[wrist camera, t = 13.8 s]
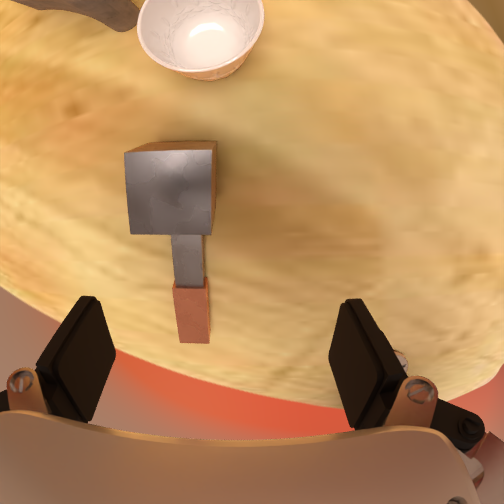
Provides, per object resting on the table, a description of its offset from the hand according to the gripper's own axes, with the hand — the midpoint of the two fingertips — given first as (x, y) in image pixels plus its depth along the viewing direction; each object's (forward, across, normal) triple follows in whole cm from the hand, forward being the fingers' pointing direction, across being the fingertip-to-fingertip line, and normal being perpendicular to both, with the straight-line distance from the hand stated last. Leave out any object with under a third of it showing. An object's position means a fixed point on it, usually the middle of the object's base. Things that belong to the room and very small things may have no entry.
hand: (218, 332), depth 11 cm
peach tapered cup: (+20, +2, -15) cm, 25 cm away
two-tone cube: (+17, +4, -3) cm, 18 cm away
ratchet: (+20, +4, +5) cm, 21 cm away
